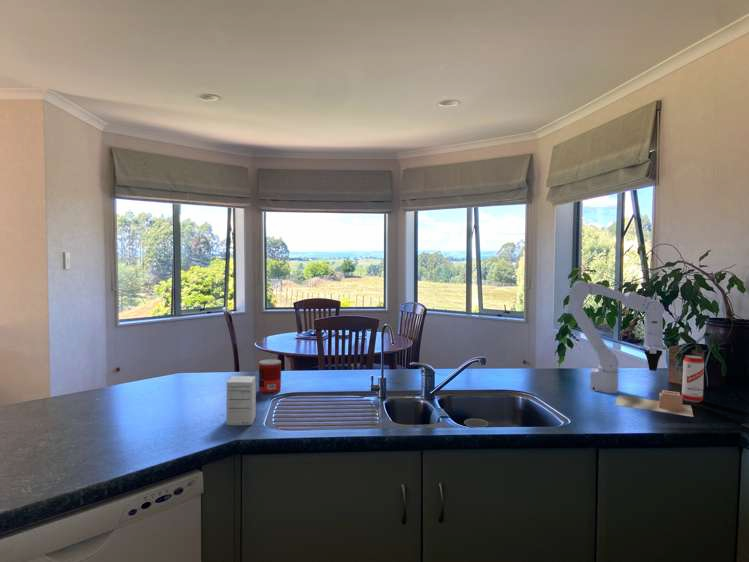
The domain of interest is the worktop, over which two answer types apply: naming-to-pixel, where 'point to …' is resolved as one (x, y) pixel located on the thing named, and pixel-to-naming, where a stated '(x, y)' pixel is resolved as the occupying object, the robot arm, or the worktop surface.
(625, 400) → the board
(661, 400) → the tan boxy piece
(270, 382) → the canned food
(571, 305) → the robot arm
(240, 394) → the supplement box
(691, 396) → the beer can
